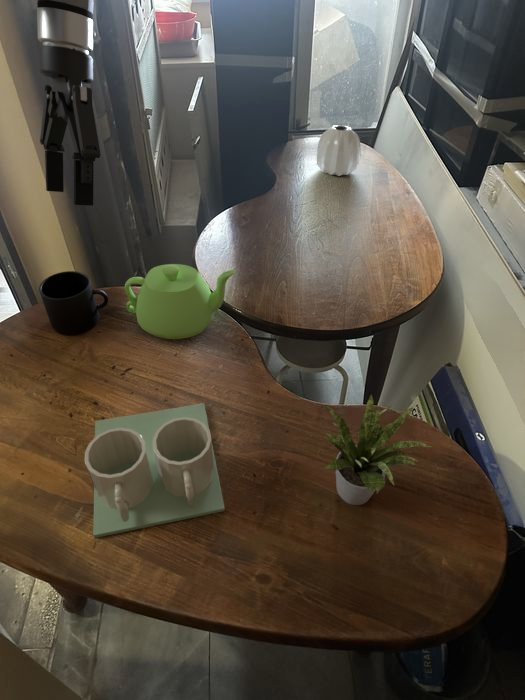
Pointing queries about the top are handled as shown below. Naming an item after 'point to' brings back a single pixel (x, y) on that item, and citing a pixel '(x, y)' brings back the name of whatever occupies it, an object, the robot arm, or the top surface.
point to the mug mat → (155, 478)
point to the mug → (71, 302)
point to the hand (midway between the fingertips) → (68, 198)
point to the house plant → (367, 455)
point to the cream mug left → (111, 453)
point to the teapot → (175, 301)
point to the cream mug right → (180, 440)
